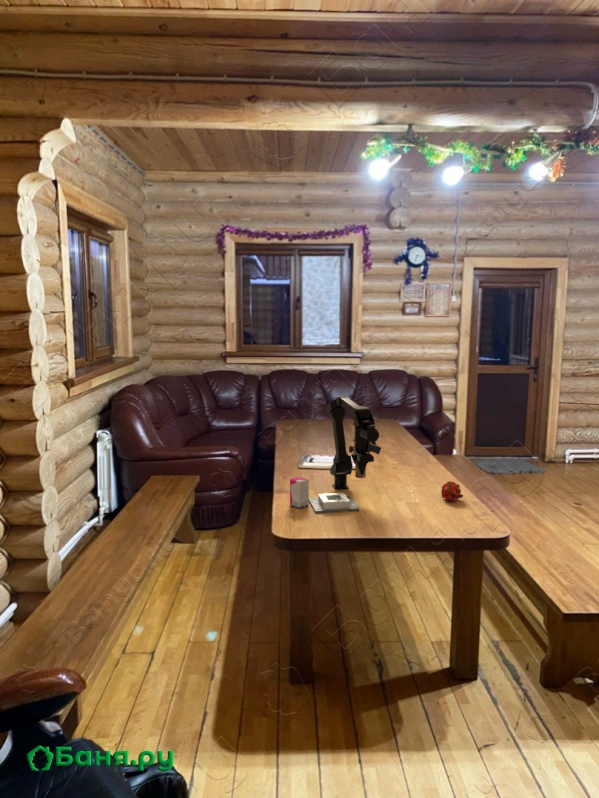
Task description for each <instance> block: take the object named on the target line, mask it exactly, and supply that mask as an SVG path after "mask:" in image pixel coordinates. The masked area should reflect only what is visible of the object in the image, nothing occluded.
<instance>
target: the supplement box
mask: <svg viewBox="0 0 599 798" xmlns="http://www.w3.org/2000/svg"><path fill="white" fill-rule="evenodd" d="M309 480H310V479H308V478H305V477H300V476H298V477H295V478H290V479H289V506H290V505H291V506H290V507H292V506H294V507H293V508H295V507H296V508H295V509H298V508H300V509H302V507H303V508H306V507H309V506H310V505H309V504H310V502H309V498H310V495H309V494H310V493H309V492H310V491H309V489H310V487H309V485H310V484H309V483H310V481H309ZM308 505H309V506H308ZM305 506H306V507H305Z"/></svg>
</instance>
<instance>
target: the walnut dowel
mask: <svg viewBox="0 0 599 798" xmlns="http://www.w3.org/2000/svg"><path fill="white" fill-rule="evenodd" d="M354 471H355V474H354V477H355V478H357V479H366V476H367V474H366V473H367V467H366V468H365V471H364V474H363V475H361V474H360V471H359V468H358V465H357V462H356V466H355V470H354Z"/></svg>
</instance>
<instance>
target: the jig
mask: <svg viewBox="0 0 599 798" xmlns="http://www.w3.org/2000/svg"><path fill="white" fill-rule="evenodd" d="M317 494H318V495H317V496H318V497H309V504H310V506H311V505H312V506H311V507H313V508H312V510H313V509H314V510H313V511H314V513H315V514H326V513H327V514H328V512H331V513H344V512H343V511H349V512H360V508H359V506H358V505H357V504H356V503H355V502H354V499H352V497H351V496H349V495H346V494H345V493H344V492H329V493H328V492H327V493H317Z"/></svg>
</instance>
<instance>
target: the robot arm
mask: <svg viewBox="0 0 599 798" xmlns="http://www.w3.org/2000/svg"><path fill="white" fill-rule="evenodd" d="M346 411H347V412H348V413H349V414H350V418H351V419H352V421H353V423H352V425H353V426H354V437H353V439H352V441H353V445H350V446H349V447H348V452H347V447H346V436H345V430H344V429H345V428H344V420H345V417H346ZM326 413H327V416H328V419H329V420H330V421H331V423H332V428H333V429H332V430H333V440H334V447H335V455H334V457H333V460H332V461H333V462H332V465H331V466H330V468H329V473H330V475H331V476H333V478H334V479H333V480H334V483H333V484H332V483H331V484H332V485H331V486H332V487H333V488H334V490H345V489H349V488H350V487H349V486H348V482H347V481H348V475H351V474H352V471H353V467H354V466H353V463H354V465H355V466H356V462H357V465H358V468H359V471H360V474H361V475H363V474H364V471H365V468H366V469H367V466H368V463H374V462H375V456H374V455H373V454H374V453H375V454H376V455H380V453H381V451H382V447H381V446H380V445H378V444H377V440H378V439H379V438H380V432H379V430H378V429H376V425H375V418H374V417H373V414H372V411H371V409H370V408H369V407H367V406H363V405H359V404H358V403H356V402H355V401H353V400H352V399H350V397H349V396H347V395H343V396H341V395H339V396H337V397H336V398H335V399H334V400H332V401H330V402H328V404H327V405H326ZM348 453H349V454H350V455H349V454H348ZM371 453H373V454H371Z"/></svg>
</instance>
